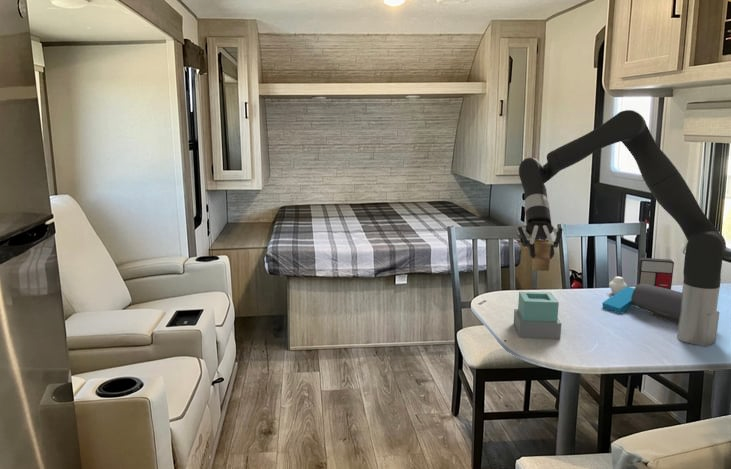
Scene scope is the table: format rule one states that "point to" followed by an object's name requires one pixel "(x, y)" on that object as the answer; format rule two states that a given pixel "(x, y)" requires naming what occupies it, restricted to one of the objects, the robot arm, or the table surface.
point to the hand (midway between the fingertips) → (542, 257)
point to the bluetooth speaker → (658, 301)
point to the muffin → (617, 284)
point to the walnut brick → (541, 255)
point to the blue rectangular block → (620, 301)
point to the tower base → (536, 328)
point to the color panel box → (655, 272)
